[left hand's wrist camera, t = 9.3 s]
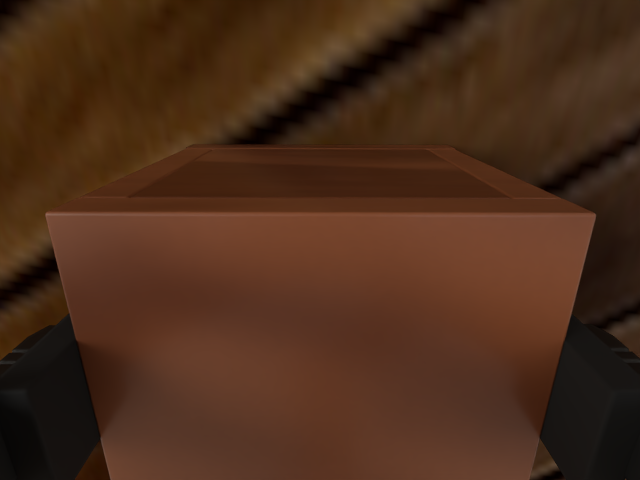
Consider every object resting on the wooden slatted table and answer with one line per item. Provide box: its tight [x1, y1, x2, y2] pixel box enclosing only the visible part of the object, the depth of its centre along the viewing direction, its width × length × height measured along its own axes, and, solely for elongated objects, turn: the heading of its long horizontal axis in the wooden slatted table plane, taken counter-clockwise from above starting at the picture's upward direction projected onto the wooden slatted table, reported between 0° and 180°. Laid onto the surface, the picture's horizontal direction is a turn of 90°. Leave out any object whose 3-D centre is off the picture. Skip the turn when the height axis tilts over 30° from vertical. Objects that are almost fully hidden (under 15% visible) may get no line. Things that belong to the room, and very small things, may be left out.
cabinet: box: [45, 144, 596, 480], centre depth 15 cm, size 19×10×10 cm, turn 0°
